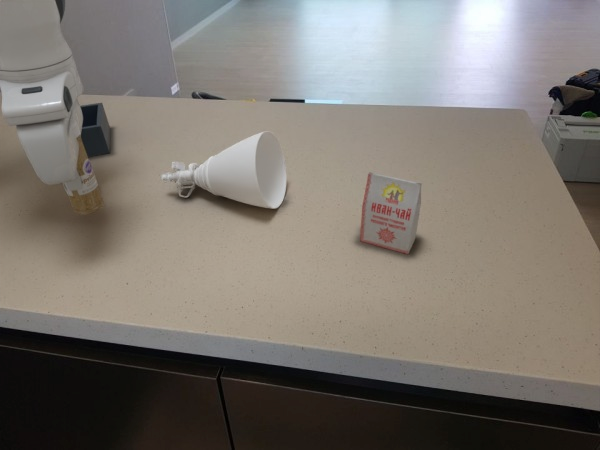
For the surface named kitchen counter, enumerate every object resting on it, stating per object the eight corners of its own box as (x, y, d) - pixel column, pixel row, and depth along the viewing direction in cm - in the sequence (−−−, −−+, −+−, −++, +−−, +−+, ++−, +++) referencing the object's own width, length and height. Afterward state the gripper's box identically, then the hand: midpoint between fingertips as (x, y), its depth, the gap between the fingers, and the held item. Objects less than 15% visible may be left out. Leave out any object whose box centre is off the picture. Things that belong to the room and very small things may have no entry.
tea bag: (369, 226, 66) (373, 165, 59) (415, 238, 63) (425, 176, 57) (360, 241, 63) (363, 179, 57) (408, 254, 60) (417, 191, 54)
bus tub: (43, 164, 83) (31, 137, 80) (50, 137, 92) (39, 111, 89) (109, 153, 86) (100, 125, 82) (110, 128, 95) (102, 102, 91)
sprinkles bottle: (102, 213, 67) (72, 128, 58) (70, 217, 66) (34, 132, 58) (106, 196, 70) (78, 114, 62) (75, 200, 70) (43, 118, 61)
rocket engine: (147, 136, 69) (254, 121, 63) (191, 152, 80) (286, 141, 74) (147, 211, 68) (255, 204, 62) (191, 218, 79) (287, 212, 73)
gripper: (26, 60, 64) (60, 148, 72) (-2, 118, 48) (45, 222, 57) (74, 54, 65) (102, 142, 73) (62, 110, 50) (99, 212, 58)
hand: (77, 177), depth 65 cm, fingers closed on sprinkles bottle, 4 cm apart
